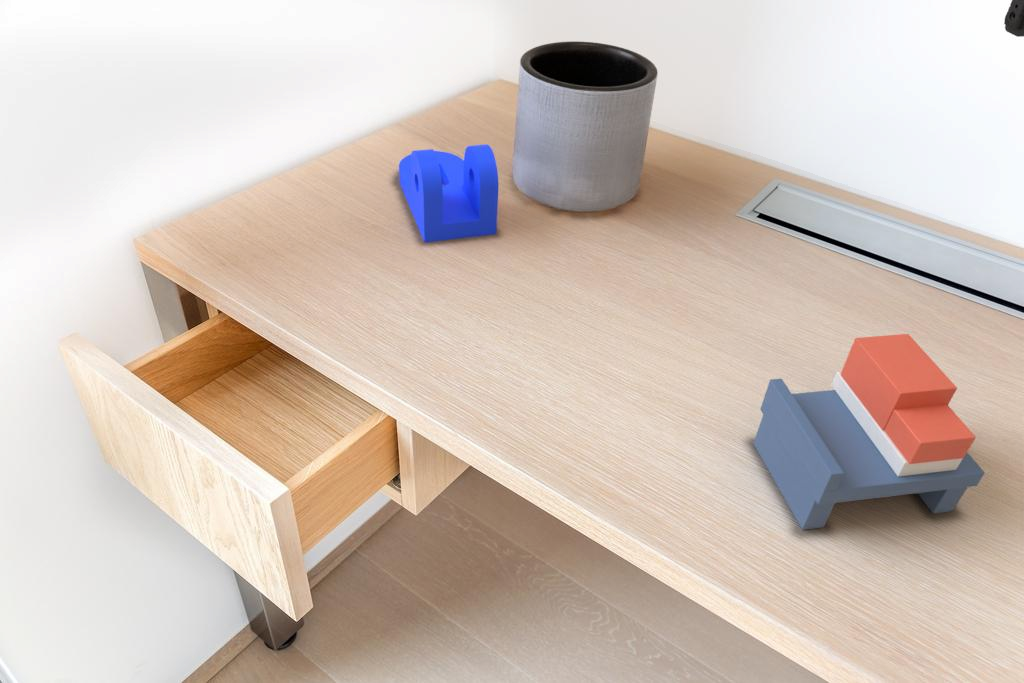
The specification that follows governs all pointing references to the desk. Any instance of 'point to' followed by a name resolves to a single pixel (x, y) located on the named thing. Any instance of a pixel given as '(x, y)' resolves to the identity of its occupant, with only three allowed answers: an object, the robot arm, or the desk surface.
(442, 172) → the bracket
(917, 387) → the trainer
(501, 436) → the desk surface
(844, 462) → the shoe shelf
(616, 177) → the planter
